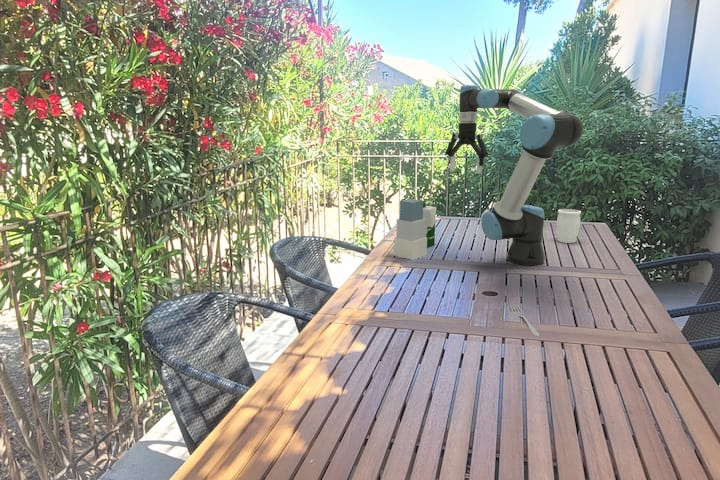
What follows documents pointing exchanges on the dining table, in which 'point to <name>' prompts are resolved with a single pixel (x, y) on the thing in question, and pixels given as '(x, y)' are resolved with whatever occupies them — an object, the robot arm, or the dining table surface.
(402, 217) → the slate block
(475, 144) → the robot arm
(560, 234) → the jar
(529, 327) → the fork
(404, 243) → the tower base
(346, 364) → the dining table surface
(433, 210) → the milk carton
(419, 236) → the tower top
